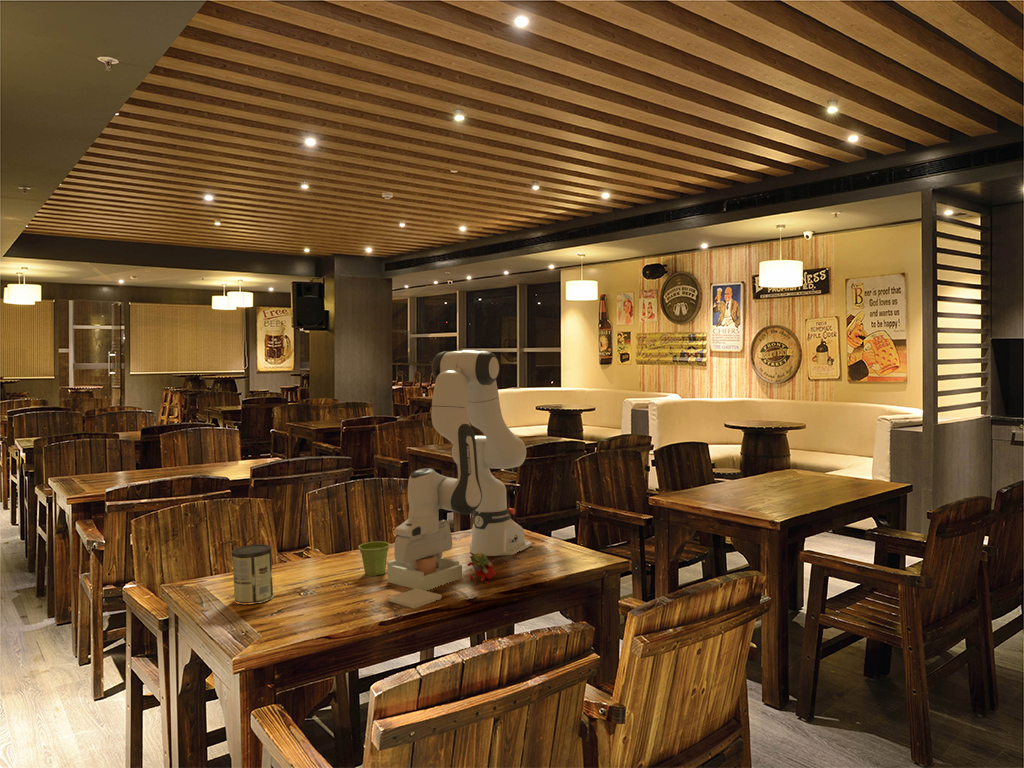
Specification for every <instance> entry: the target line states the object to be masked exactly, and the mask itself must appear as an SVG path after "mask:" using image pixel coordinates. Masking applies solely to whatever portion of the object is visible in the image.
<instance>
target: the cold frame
mask: <svg viewBox="0 0 1024 768" xmlns="http://www.w3.org/2000/svg"><path fill="white" fill-rule="evenodd" d="M413 565H414V564H413ZM386 568H387V583H389V584H394V585H397V586H401V587H404V588H408V589H411V590H413V589H416V588H417V589H421V590H425V591H427V590H428V591H430V589H431V590H433V588H434V589H436V588H439V587H441V586H440V585H442V586H445V585H447V584H446V583H448V584H450V583H449V582H451V583H453V582H452V581H454V582H456V581H455V580H457V579H459V580H461V579H460V578H462V579H463V564H460V561H459V560H456V559H451V558H446V557H443V556H442V558H441V560H440V567H439V568H437V569H436V572H434V573H431V574H428V575H425V576H424V572H420V571H416V570H412V569H409V567H408V566H407V563H405V564H403V563H399V562H397V561H396V560H395V559H392V560H389V561H386ZM457 581H458V580H457ZM444 584H445V585H444ZM438 586H439V587H438ZM435 587H436V588H435Z"/></svg>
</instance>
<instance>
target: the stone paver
mask: <svg viewBox="0 0 1024 768" xmlns="http://www.w3.org/2000/svg"><path fill="white" fill-rule="evenodd" d="M442 597H443V596H442V594H439V593H436V592H432V591H429V590H428V591H425V590H421V589H417V588H416V589H410V590H408V591H405V592H402V593H399V594H396V595H393V596H390V597H388V602H390V603H393V604H397V605H400V606H403V607H408V608H409V609H414V610H416V609H418V608H420V607H423V606H426V605H428V604H431V603H434V602H436V600H437V601H439V600H442V599H441V598H442Z"/></svg>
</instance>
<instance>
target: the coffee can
mask: <svg viewBox="0 0 1024 768" xmlns="http://www.w3.org/2000/svg"><path fill="white" fill-rule="evenodd" d="M272 548H273V547H272V546H271V545H269V544H264V543H263V544H260V543H259V544H249V545H243V546H239V547H235V548H234V549H232V551H231V555H232V568H233V569H232V571H233V572H232V573H233V592H234V593H233V594H234V600H235V601H236V602H239V603H259V602H265V601H268V600H270V599H271V600H272V599H273V598H274V590H273V589H274V586H273V584H274V583H273V562H272V560H273V559H272V550H273V549H272ZM271 600H270V601H271ZM268 602H269V601H268ZM265 603H266V602H265Z"/></svg>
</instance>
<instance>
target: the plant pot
mask: <svg viewBox="0 0 1024 768" xmlns="http://www.w3.org/2000/svg"><path fill="white" fill-rule="evenodd" d="M390 546H391V544H390V543H389V542H386V541H369V542H365V543H361V544H359V545H358V549H359V551H360V554H361V559H362V563H363V570H364V574H365V575H366V576H368V577H369V576H370V577H375V576H379V575H384V574H385V573H386V568H387V558H388V551H389V547H390Z"/></svg>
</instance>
